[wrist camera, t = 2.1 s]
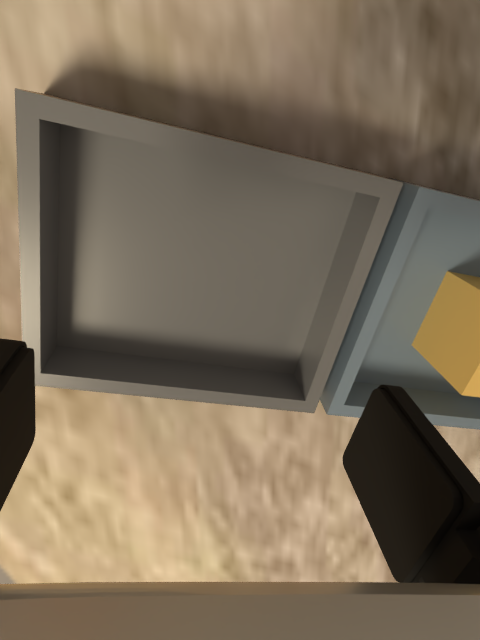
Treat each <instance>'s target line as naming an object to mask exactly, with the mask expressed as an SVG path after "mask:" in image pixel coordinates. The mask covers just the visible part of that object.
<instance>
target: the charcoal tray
mask: <svg viewBox="0 0 480 640" xmlns="http://www.w3.org/2000/svg"><path fill="white" fill-rule="evenodd" d="M15 110H16V145H17V180H18V215H19V250H20V285H21V320H22V341H24V342H26V345H27V348H33V349H34V355H35V386H43V387H54V388H64V389H74V390H84V391H94V392H104V393H114V394H125V395H135V396H145V397H155V398H165V399H175V400H185V401H196V402H206V403H216V404H226V405H236V406H246V407H256V408H267V409H277V410H287V411H297V412H307V413H314V412H315V410H316V407H317V405H318V402H319V400H320V397H321V394H322V392H323V389H324V387H325V384H326V382H327V379H328V376H329V374H330V371H331V369H332V366H333V364H334V361H335V358H336V356H337V353H338V351H339V348H340V345H341V343H342V340H343V338H344V335H345V333H346V330H347V327H348V325H349V322H350V320H351V317H352V315H353V312H354V309H355V307H356V304H357V302H358V299H359V296H360V294H361V291H362V289H363V286H364V284H365V281H366V278H367V276H368V273H369V271H370V268H371V266H372V263H373V260H374V258H375V255H376V253H377V250H378V248H379V245H380V242H381V240H382V237H383V235H384V232H385V229H386V227H387V224H388V222H389V219H390V217H391V214H392V211H393V209H394V206H395V204H396V201H397V199H398V196H399V193H400V191H401V188H402V186H403V182H399V181H396V180H392V179H389V178H385V177H382V176H378V175H375V174H371V173H367V172H363V171H359V170H355V169H350V168H346V167H342V166H338V165H334V164H330V163H326V162H322V161H318V160H313V159H309V158H305V157H301V156H297V155H293V154H289V153H285V152H281V151H277V150H272V149H268V148H264V147H260V146H256V145H252V144H248V143H244V142H240V141H236V140H231V139H227V138H223V137H219V136H215V135H211V134H207V133H203V132H199V131H195V130H190V129H186V128H182V127H178V126H174V125H170V124H166V123H162V122H158V121H153V120H149V119H145V118H141V117H137V116H133V115H129V114H125V113H121V112H117V111H112V110H108V109H104V108H100V107H96V106H92V105H88V104H84V103H80V102H76V101H71V100H67V99H63V98H59V97H55V96H51V95H47V94H43V93H37V92H32V91H27V90H21V89H16V88H15Z"/></svg>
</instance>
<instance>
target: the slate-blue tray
mask: <svg viewBox="0 0 480 640" xmlns="http://www.w3.org/2000/svg"><path fill="white" fill-rule="evenodd" d="M389 179H391V178H389ZM392 180H396V179H392ZM396 181H399V182H403V186H402V188H401V191H400V193H399V196H398V199H397V201H396V204H395V206H394V209H393V211H392V214H391V217H390V219H389V222H388V224H387V227H386V229H385V232H384V235H383V237H382V240H381V242H380V245H379V248H378V250H377V253H376V255H375V258H374V260H373V263H372V266H371V268H370V271H369V273H368V276H367V278H366V281H365V284H364V286H363V289H362V291H361V294H360V296H359V299H358V302H357V304H356V307H355V309H354V312H353V315H352V317H351V320H350V322H349V325H348V327H347V330H346V333H345V335H344V338H343V340H342V343H341V345H340V348H339V351H338V353H337V356H336V358H335V361H334V364H333V366H332V369H331V371H330V374H329V376H328V379H327V382H326V384H325V387H324V389H323V392H322V394H321V397H320V401H321V403H322V405H323V407H324V409H325V411H326V414H328V415H338V416H348V417H358V418H360V417H361V415H362V413H363V410H364V408H365V406H366V404H367V402H368V399H369V397H370V395H371V393H372V391H373V390H374V389H377V388H378V387H379V386H380V385H383V384H384V385H392V386H400V387H402V388H403V389H404V390H405V391H406V392H407V394H408V395H409V396H410V397H411V399H412V400H413V401H414V402H415V403H416V405H417V406H418V407H419V408H420V410H421V411H422V412H423V413H424V415H425V416H426V417H427V418H428V420H429V421H430V422H431V423H432V425H439V426H449V427H459V428H470V429H480V397H472V396H464V395H461V394H460V393H459V392H458V391H457V390H456V389H455V388H454V387H453V386H452V385H451V384H450V383H449V382H448V381H447V380H446V379H445V378H444V377H443V376H442V375H441V374H440V373H439V372H438V371H437V370H436V369H435V368H434V367H433V366H432V365H431V364H430V363H429V362H428V361H427V360H426V359H425V358H424V357H423V356H422V355H421V354H420V353H419V352H418V351H417V350H416V349H415V348H414V347H413V346H412V343H413V341H414V339H415V337H416V335H417V333H418V330H419V328H420V326H421V324H422V322H423V320H424V318H425V316H426V314H427V312H428V310H429V308H430V305H431V303H432V301H433V299H434V297H435V295H436V293H437V291H438V289H439V287H440V285H441V283H442V280H443V278H444V276H445V274H446V272H447V271H450V272H455V273H460V274H465V275H470V276H475V277H480V200H478V199H473V198H469V197H465V196H461V195H457V194H453V193H449V192H445V191H441V190H437V189H432V188H428V187H424V186H420V185H416V184H412V183H408V182H404V181H400V180H396Z"/></svg>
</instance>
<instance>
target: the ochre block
mask: <svg viewBox="0 0 480 640" xmlns="http://www.w3.org/2000/svg"><path fill="white" fill-rule="evenodd" d="M412 346H413V347H414V348H415V349H416V350H417V351H418V352H419V353H420V354H421V355H422V356H423V357H424V358H425V359H426V360H427V361H428V362H429V363H430V364H431V365H432V366H433V367H434V368H435V369H436V370H437V371H438V372H439V373H440V374H441V375H442V376H443V377H444V378H445V379H446V380H447V381H448V382H449V383H450V384H451V385H452V386H453V387H454V388H455V389H456V390H457V391H458V392H459V393H460V394H461V395H464V396H472V397H480V277H475V276H470V275H465V274H460V273H455V272H450V271H447V272H446V274H445V276H444V278H443V280H442V283H441V285H440V287H439V289H438V291H437V293H436V295H435V297H434V299H433V301H432V303H431V305H430V308H429V310H428V312H427V314H426V316H425V318H424V320H423V322H422V324H421V326H420V328H419V330H418V333H417V335H416V337H415V339H414V341H413V343H412Z"/></svg>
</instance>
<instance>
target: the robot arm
mask: <svg viewBox="0 0 480 640" xmlns="http://www.w3.org/2000/svg"><path fill="white" fill-rule="evenodd" d="M34 437H35V355H34V349H33V348H27V345H26V342H24V341H16V340H8V339H0V511H1V509H2V506H3V504H4V502H5V500H6V498H7V496H8V494H9V492H10V490H11V488H12V486H13V484H14V482H15V479H16V477H17V475H18V473H19V471H20V469H21V467H22V465H23V463H24V461H25V459H26V457H27V455H28V452H29V450H30V448H31V446H32V444H33V441H34ZM343 465H344V468H345V470H346V473H347V475H348V477H349V479H350V481H351V484H352V486H353V488H354V490H355V493H356V495H357V497H358V499H359V501H360V504H361V506H362V508H363V510H364V513H365V515H366V517H367V519H368V521H369V524H370V526H371V528H372V530H373V533H374V535H375V537H376V539H377V541H378V544H379V546H380V548H381V550H382V553H383V555H384V557H385V559H386V561H387V564H388V566H389V568H390V570H391V573H392V575H393V577H394V578H395V579H396V581H398V582H400V583H378V582H80V583H34V584H0V640H480V483H479V482H478V481H477V479H476V478H475V477H474V476H473V474H472V473H471V472H470V471H469V469H468V468H467V467H466V466H465V464H464V463H463V462H462V461H461V459H460V458H459V457H458V456H457V454H456V453H455V452H454V451H453V450H452V448H451V447H450V446H449V445H448V443H447V442H446V441H445V440H444V438H443V437H442V436H441V435H440V433H439V432H438V431H437V430H436V428H435V427H434V426H433V425H432V423H431V422H430V421H429V420H428V418H427V417H426V416H425V415H424V413H423V412H422V411H421V410H420V408H419V407H418V406H417V405H416V403H415V402H414V401H413V400H412V399H411V397H410V396H409V395H408V394H407V392H406V391H405V390H404V389H403V388H402V387H400V386H392V385H384V384H383V385H380V386H379V387H378V388H377V389H374V390H373V391H372V393H371V395H370V397H369V399H368V402H367V404H366V406H365V408H364V410H363V413H362V415H361V417H360V419H359V421H358V424H357V426H356V428H355V430H354V432H353V434H352V437H351V439H350V441H349V443H348V445H347V448H346V450H345V452H344V455H343Z"/></svg>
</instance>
